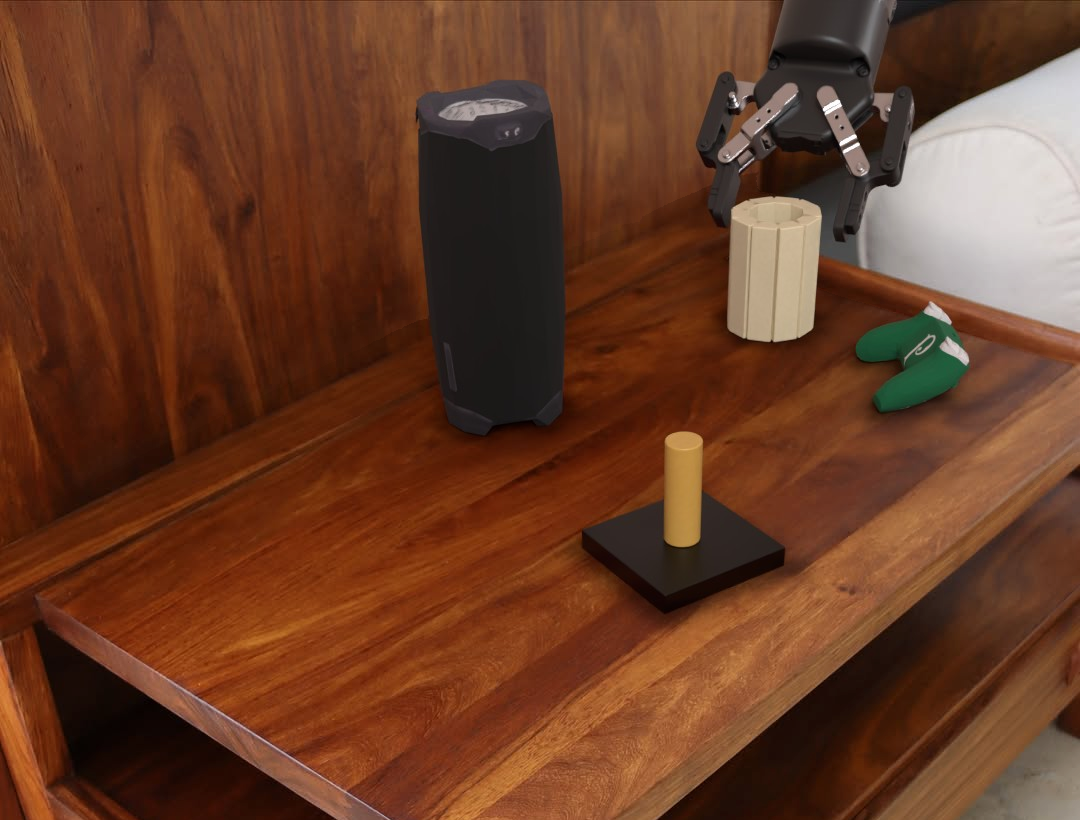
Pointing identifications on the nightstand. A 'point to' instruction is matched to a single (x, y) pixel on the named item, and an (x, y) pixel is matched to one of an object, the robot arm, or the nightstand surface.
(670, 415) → the nightstand surface
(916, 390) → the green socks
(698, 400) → the nightstand surface
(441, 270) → the portable speaker
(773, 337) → the cream hollow cylinder
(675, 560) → the stand
